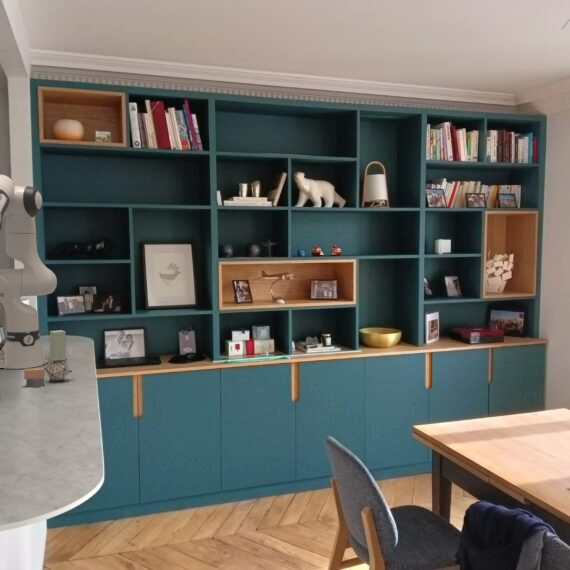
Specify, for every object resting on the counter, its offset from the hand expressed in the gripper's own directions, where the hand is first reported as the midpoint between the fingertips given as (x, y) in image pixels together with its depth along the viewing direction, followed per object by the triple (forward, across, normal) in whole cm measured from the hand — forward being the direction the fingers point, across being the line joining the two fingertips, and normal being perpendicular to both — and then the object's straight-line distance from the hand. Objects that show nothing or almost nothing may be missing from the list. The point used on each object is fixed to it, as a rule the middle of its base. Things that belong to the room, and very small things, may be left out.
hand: (8, 296), depth 188 cm
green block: (+29, +4, +4) cm, 30 cm away
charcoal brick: (+29, +3, +16) cm, 33 cm away
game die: (+35, +5, +10) cm, 36 cm away
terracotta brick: (+26, +3, +14) cm, 30 cm away
